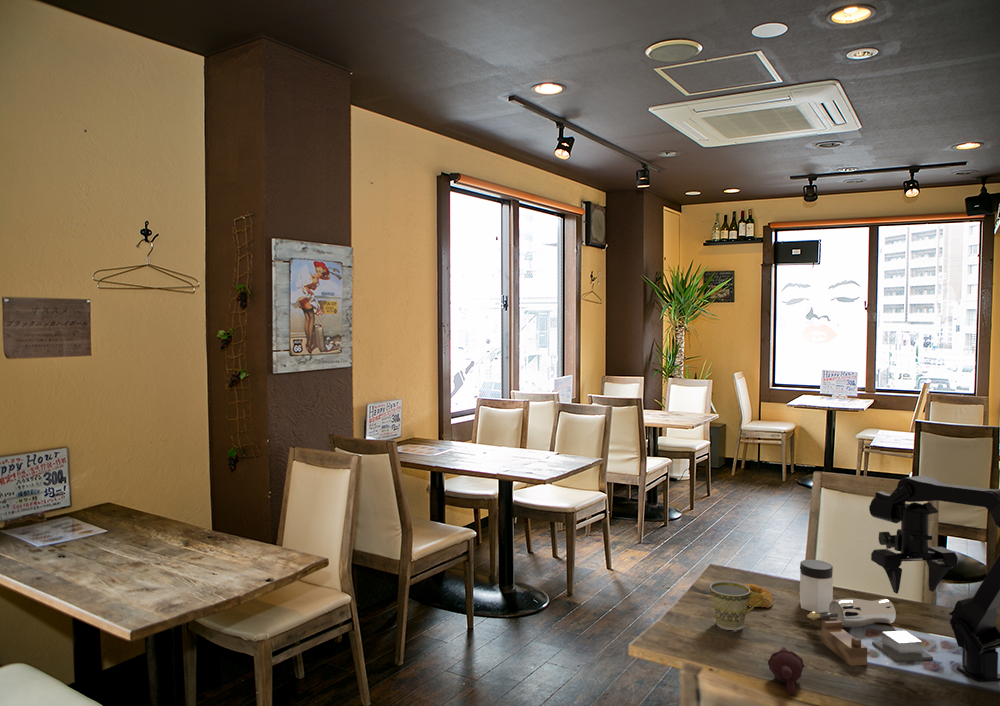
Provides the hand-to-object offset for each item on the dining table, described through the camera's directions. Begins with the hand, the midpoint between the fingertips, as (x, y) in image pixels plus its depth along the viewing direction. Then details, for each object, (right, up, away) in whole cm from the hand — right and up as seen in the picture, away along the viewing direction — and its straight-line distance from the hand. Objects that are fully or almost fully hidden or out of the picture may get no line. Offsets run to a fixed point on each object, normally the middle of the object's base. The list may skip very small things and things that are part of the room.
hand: (913, 592), depth 171 cm
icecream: (-37, -14, -16) cm, 43 cm away
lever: (-20, -9, +6) cm, 22 cm away
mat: (-5, -13, -3) cm, 14 cm away
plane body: (-19, -13, -3) cm, 23 cm away
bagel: (-29, -13, +28) cm, 42 cm away
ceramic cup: (-39, -13, +12) cm, 43 cm away
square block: (-5, -13, -3) cm, 14 cm away
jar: (-13, -12, +23) cm, 30 cm away
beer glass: (+1, -10, +13) cm, 16 cm away
